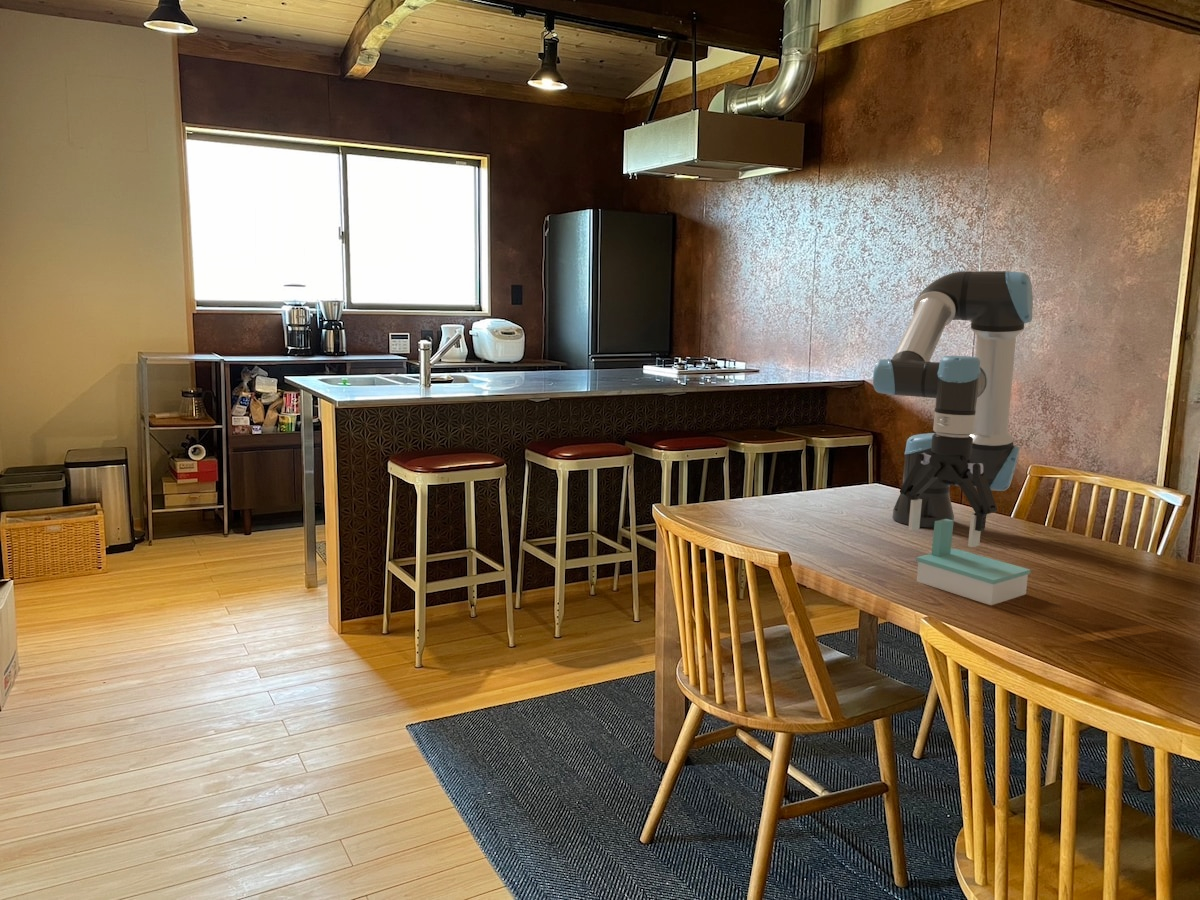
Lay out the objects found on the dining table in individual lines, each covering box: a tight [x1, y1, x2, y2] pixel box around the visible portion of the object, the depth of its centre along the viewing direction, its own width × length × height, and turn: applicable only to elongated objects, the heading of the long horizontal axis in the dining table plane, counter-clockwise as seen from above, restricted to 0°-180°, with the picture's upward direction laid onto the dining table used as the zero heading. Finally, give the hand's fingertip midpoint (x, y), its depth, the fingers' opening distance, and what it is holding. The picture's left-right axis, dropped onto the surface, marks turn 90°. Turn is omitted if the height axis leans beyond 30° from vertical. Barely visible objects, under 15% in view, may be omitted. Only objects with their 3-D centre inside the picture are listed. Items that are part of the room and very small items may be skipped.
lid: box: [915, 519, 1031, 584], centre depth 169 cm, size 13×17×8 cm
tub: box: [916, 561, 1029, 606], centre depth 170 cm, size 12×16×5 cm
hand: (942, 537), depth 175 cm, fingers open, 13 cm apart
